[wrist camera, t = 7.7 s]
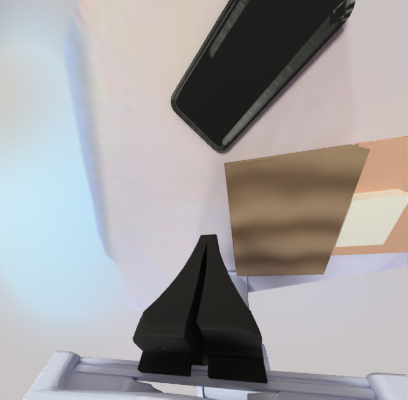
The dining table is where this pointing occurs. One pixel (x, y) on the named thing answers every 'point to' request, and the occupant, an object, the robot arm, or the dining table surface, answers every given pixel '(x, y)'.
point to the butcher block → (290, 208)
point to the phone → (251, 62)
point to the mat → (384, 180)
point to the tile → (371, 217)
